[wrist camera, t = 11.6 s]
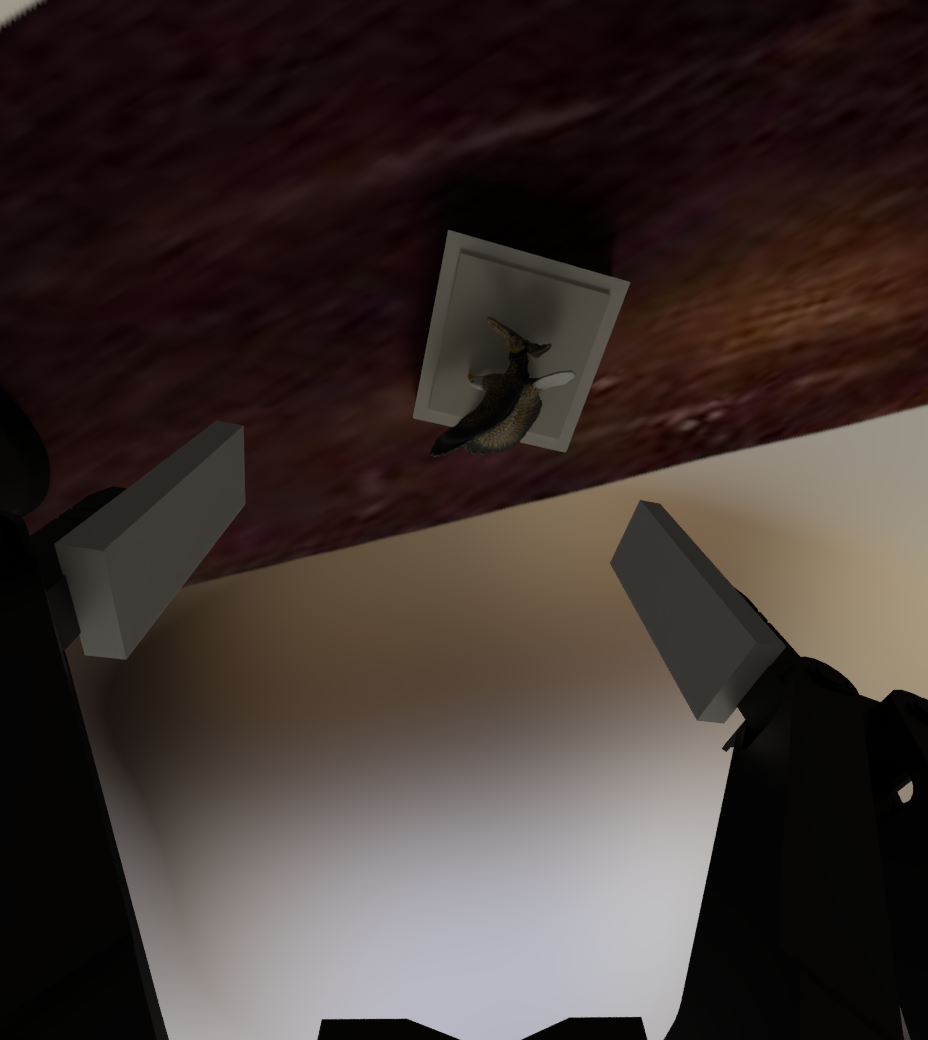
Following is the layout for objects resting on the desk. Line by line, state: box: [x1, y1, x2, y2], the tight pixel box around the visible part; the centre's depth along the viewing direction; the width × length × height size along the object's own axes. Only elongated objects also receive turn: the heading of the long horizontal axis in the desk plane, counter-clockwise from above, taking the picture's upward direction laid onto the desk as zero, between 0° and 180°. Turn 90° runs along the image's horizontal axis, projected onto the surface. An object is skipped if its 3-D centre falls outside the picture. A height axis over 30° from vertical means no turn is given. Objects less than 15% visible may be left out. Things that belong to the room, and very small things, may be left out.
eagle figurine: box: [429, 317, 576, 457], centre depth 30 cm, size 8×7×9 cm
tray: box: [413, 230, 630, 452], centre depth 33 cm, size 12×12×4 cm
